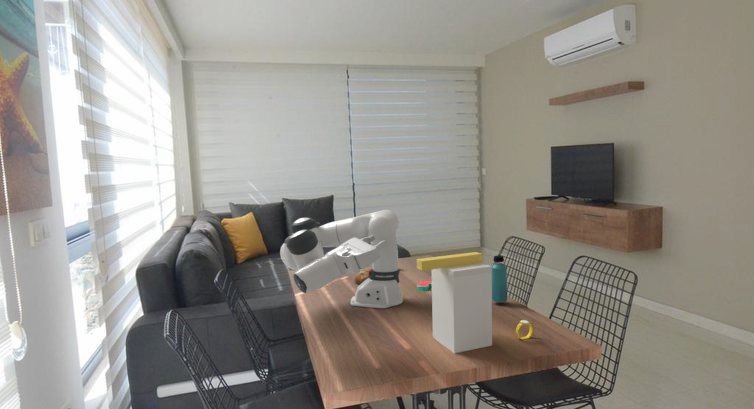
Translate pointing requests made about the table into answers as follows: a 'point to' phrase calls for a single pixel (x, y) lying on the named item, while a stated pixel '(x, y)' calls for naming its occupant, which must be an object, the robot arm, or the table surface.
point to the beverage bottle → (499, 280)
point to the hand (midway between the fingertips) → (379, 239)
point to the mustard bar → (449, 261)
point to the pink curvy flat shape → (424, 285)
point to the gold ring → (522, 322)
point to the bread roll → (361, 277)
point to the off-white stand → (462, 306)
